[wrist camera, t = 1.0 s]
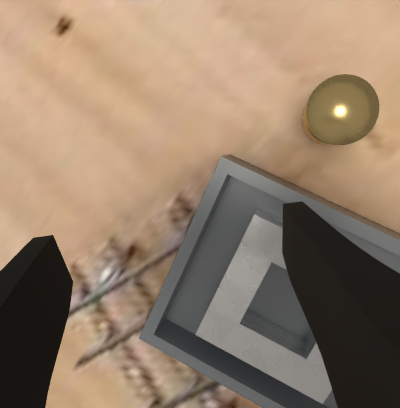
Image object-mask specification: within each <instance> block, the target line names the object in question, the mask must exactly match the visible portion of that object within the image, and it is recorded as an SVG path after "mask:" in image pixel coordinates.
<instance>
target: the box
mask: <svg viewBox="0 0 400 408" xmlns="http://www.w3.org/2000/svg"><path fill="white" fill-rule="evenodd" d="M300 201H303V202H304V203H305V204H306V205H308V206H309V207H310V208H311V209H312V210H313V211H315V212H316V213H317V214H318V215H319V216H320V217H322V218H323V219H324V220H325V221H326V222H328V223H329V224H330V225H331V226H332V227H334V228H335V229H336V230H337V231H338V232H340V233H341V234H342V235H344V236H345V237H346V238H347V239H349V240H350V241H351V242H353V243H354V244H355V245H357V246H358V247H359V248H361V249H362V250H364V251H365V252H367V253H368V254H370V255H371V256H372V257H374V258H375V259H377V260H378V261H380V262H382V263H383V264H385V265H386V266H388V267H390V268H391V269H393V270H395V271H397V272H398V273H400V234H399V233H397V232H395V231H393V230H390V229H388V228H386V227H384V226H382V225H380V224H378V223H375V222H373V221H371V220H369V219H367V218H365V217H363V216H360V215H358V214H356V213H354V212H352V211H350V210H348V209H345V208H343V207H341V206H339V205H337V204H335V203H333V202H330V201H328V200H326V199H324V198H322V197H320V196H318V195H315V194H313V193H311V192H309V191H307V190H305V189H303V188H300V187H298V186H296V185H294V184H292V183H290V182H288V181H285V180H283V179H281V178H279V177H277V176H275V175H273V174H270V173H268V172H266V171H264V170H262V169H260V168H257V167H255V166H253V165H251V164H249V163H247V162H245V161H242V160H240V159H238V158H236V157H234V156H232V155H225V156H221V158H220V160H219V162H218V164H217V166H216V169H215V171H214V173H213V175H212V178H211V180H210V182H209V184H208V186H207V189H206V191H205V193H204V195H203V198H202V200H201V202H200V204H199V206H198V209H197V211H196V213H195V215H194V218H193V220H192V222H191V224H190V226H189V229H188V231H187V233H186V235H185V238H184V240H183V242H182V244H181V246H180V249H179V251H178V253H177V255H176V258H175V260H174V262H173V264H172V266H171V269H170V271H169V273H168V275H167V278H166V280H165V282H164V284H163V286H162V289H161V291H160V293H159V295H158V298H157V300H156V302H155V304H154V306H153V309H152V311H151V313H150V315H149V318H148V320H147V322H146V324H145V326H144V329H143V331H142V333H141V335H140V338H139V339H141V340H143V341H145V342H146V343H148V344H150V345H152V346H154V347H155V348H157V349H159V350H161V351H163V352H164V353H166V354H168V355H170V356H171V357H173V358H175V359H177V360H179V361H180V362H182V363H184V364H186V365H188V366H189V367H191V368H193V369H195V370H196V371H198V372H200V373H202V374H204V375H205V376H207V377H209V378H211V379H213V380H214V381H216V382H218V383H220V384H221V385H223V386H225V387H227V388H229V389H230V390H232V391H234V392H236V393H238V394H239V395H241V396H243V397H245V398H247V399H248V400H250V401H252V402H254V403H255V404H257V405H259V406H261V407H263V408H337V404H336V401H335V398H334V394H333V391H332V390H331V392H330V394H329V395H328V397H327V398H326V400H325V402H324V403H323V404H321V403H320V402H318V401H316V400H314V399H312V398H310V397H309V396H307V395H305V394H303V393H301V392H299V391H298V390H296V389H294V388H292V387H290V386H288V385H287V384H285V383H283V382H281V381H279V380H277V379H276V378H274V377H272V376H270V375H268V374H266V373H265V372H263V371H261V370H259V369H257V368H255V367H254V366H252V365H250V364H248V363H246V362H244V361H243V360H241V359H239V358H237V357H235V356H233V355H232V354H230V353H228V352H226V351H224V350H222V349H221V348H219V347H217V346H215V345H213V344H211V343H210V342H208V341H206V340H204V339H202V338H200V337H199V336H197V335H195V334H196V332H197V330H198V328H199V326H200V324H201V322H202V320H203V318H204V316H205V314H206V312H207V310H208V308H209V306H210V304H211V301H212V299H213V297H214V295H215V293H216V291H217V289H218V287H219V285H220V283H221V281H222V279H223V277H224V275H225V273H226V271H227V269H228V267H229V265H230V263H231V261H232V259H233V257H234V255H235V253H236V251H237V249H238V247H239V245H240V243H241V241H242V238H243V236H244V234H245V232H246V230H247V228H248V226H249V224H250V222H251V220H252V218H253V216H254V214H255V212H256V210H257V208H260V209H262V210H264V211H266V212H268V213H270V214H272V215H274V216H276V217H278V218H280V219H282V220H283V204H286V203H293V202H300ZM247 309H248V310H250V311H252V312H254V313H256V314H258V315H260V316H262V317H264V318H265V319H267V320H269V321H271V322H273V323H275V324H277V325H279V326H281V327H283V328H285V329H286V330H288V331H290V332H292V333H294V334H296V335H298V336H300V337H302V338H304V339H305V338H306V337H307V335H308V333H309V331H310V330H311V329H310V326H309V324H308V322H307V319H306V317H305V315H304V312H303V310H302V308H301V306H300V303H299V301H298V298H297V296H296V294H295V291H294V289H293V287H292V284H291V282H290V279H289V275H288V272H287V270H286V269H284V268H282V267H280V266H278V265H276V264H274V263H272V262H271V264H270V266H269V268H268V270H267V272H266V274H265V276H264V278H263V280H262V282H261V283H260V285H259V287H258V289H257V291H256V293H255V295H254V297H253V299H252V301H251V303H250V305H249V306H248V308H247Z"/></svg>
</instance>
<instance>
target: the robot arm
mask: <svg viewBox="0 0 400 408" xmlns="http://www.w3.org/2000/svg"><path fill="white" fill-rule="evenodd" d="M282 254H283V258H284V262H285V265H286V269H287V272H288V275H289V279H290V282H291V284H292V287H293V289H294V291H295V294H296V296H297V298H298V301H299V303H300V306H301V308H302V310H303V312H304V315H305V317H306V319H307V322H308V324H309V326H310V329H311V331H312V333H313V336H314V338H315V340H316V343H317V345H318V348H319V351H320V353H321V356H322V359H323V362H324V365H325V368H326V372H327V375H328V378H329V381H330V384H331V388H332V391H333V394H334V398H335V401H336V404H337V408H400V273H398V272H397V271H395V270H393V269H391V268H390V267H388V266H386V265H385V264H383V263H382V262H380V261H378V260H377V259H375V258H374V257H372V256H371V255H370V254H368V253H367V252H365V251H364V250H362V249H361V248H359V247H358V246H357V245H355V244H354V243H353V242H351V241H350V240H349V239H347V238H346V237H345V236H344V235H342V234H341V233H340V232H338V231H337V230H336V229H335V228H334V227H332V226H331V225H330V224H329V223H328V222H326V221H325V220H324V219H323V218H322V217H320V216H319V215H318V214H317V213H316V212H315V211H313V210H312V209H311V208H310V207H309V206H308V205H306V204H305V203H304V202H303V201H300V202H293V203H286V204H283V228H282ZM72 286H73V280H72V278H71V276H70V273H69V271H68V269H67V266H66V264H65V262H64V259H63V257H62V255H61V253H60V250H59V248H58V246H57V243H56V241H55V239H54V236H53V235H51V236H43V237H36V238H33V239H32V240H31V241H30V242H29V243H28V244H27V245H25V246H24V247H23V248H22V250H21V251H20V252H19V253H18V254H17V255H16V256H15V257H14V258H13V259H12V260H11V261H10V262H9V263H8V264H7V265H6V266H5V267H4V268H3V269H2V270H1V271H0V408H45V406H46V400H47V394H48V389H49V385H50V381H51V376H52V373H53V369H54V366H55V362H56V358H57V355H58V351H59V347H60V344H61V340H62V337H63V333H64V329H65V325H66V322H67V318H68V314H69V309H70V302H71V295H72Z"/></svg>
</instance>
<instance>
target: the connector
mask: <svg viewBox="0 0 400 408" xmlns="http://www.w3.org/2000/svg"><path fill="white" fill-rule="evenodd" d="M378 114H379V100H378V96H377V94H376V92H375V90H374V88H373V87H372V86H371V85H370V84H369V83H368V82H367V81H365V80H364V79H362V78H360V77H358V76H355V75H347V74H344V75H337V76H333V77H331V78H328V79H326V80H325V81H323V82H322V83H321V84H319V85H318V86H317V87H316V89H315V90H314V91H313V93H312V94H311V96H310V98H309V100H308V102H307V105H306V107H305V109H304V111H303V115H302V126H303V129H304V131H305V133H306V134H307V136H308V137H309V138H310V139H312V140H313V141H315V142H318V143H321V144H333V145H345V144H350V143H353V142H356V141H358V140H360V139H362V138H363V137H364V136H366V135H367V134H368V133H369V132H370V130H371V129H372V128H373V126H374V125H375V123H376V121H377V118H378Z"/></svg>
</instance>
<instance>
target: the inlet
mask: <svg viewBox="0 0 400 408" xmlns="http://www.w3.org/2000/svg"><path fill="white" fill-rule="evenodd" d="M282 228H283V220H282V219H280V218H278V217H276V216H274V215H272V214H270V213H268V212H266V211H264V210H262V209H260V208H257V210H256V212H255V214H254V216H253V218H252V220H251V222H250V224H249V226H248V228H247V230H246V232H245V234H244V236H243V238H242V241H241V243H240V245H239V247H238V249H237V251H236V253H235V255H234V257H233V259H232V261H231V263H230V265H229V267H228V269H227V271H226V273H225V275H224V277H223V279H222V281H221V283H220V285H219V287H218V289H217V291H216V293H215V295H214V297H213V299H212V301H211V304H210V306H209V308H208V310H207V312H206V314H205V316H204V318H203V320H202V322H201V324H200V326H199V328H198V330H197V332H196V334H195V335H197V336H199V337H200V338H202V339H204V340H206V341H208V342H210V343H211V344H213V345H215V346H217V347H219V348H221V349H222V350H224V351H226V352H228V353H230V354H232V355H233V356H235V357H237V358H239V359H241V360H243V361H244V362H246V363H248V364H250V365H252V366H254V367H255V368H257V369H259V370H261V371H263V372H265V373H266V374H268V375H270V376H272V377H274V378H276V379H277V380H279V381H281V382H283V383H285V384H287V385H288V386H290V387H292V388H294V389H296V390H298V391H299V392H301V393H303V394H305V395H307V396H309V397H310V398H312V399H314V400H316V401H318V402H320V403H321V404H323V403H324V402H325V400H326V398H327V397H328V395H329V394H330V392H331V390H332V388H331V384H330V381H329V378H328V375H327V372H326V368H325V365H324V362H323V359H322V356H321V353H320V351H319V348H318V345H317V343H316V340H315V338H314V336H313V333H312V331H311V330H310V331H309V333H308V335H307V337H306V338H305V339H304V338H302V337H300V336H298V335H296V334H294V333H292V332H290V331H288V330H286V329H285V328H283V327H281V326H279V325H277V324H275V323H273V322H271V321H269V320H267V319H265V318H264V317H262V316H260V315H258V314H256V313H254V312H252V311H250V310H248V309H247V308H248V306H249V305H250V303H251V301H252V299H253V297H254V295H255V293H256V291H257V289H258V287H259V285H260V283H261V282H262V280H263V278H264V276H265V274H266V272H267V270H268V268H269V266H270V264H271V262H272V263H274V264H276V265H278V266H280V267H282V268H284V269H286V265H285V262H284V258H283V254H282ZM286 270H287V269H286Z"/></svg>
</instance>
